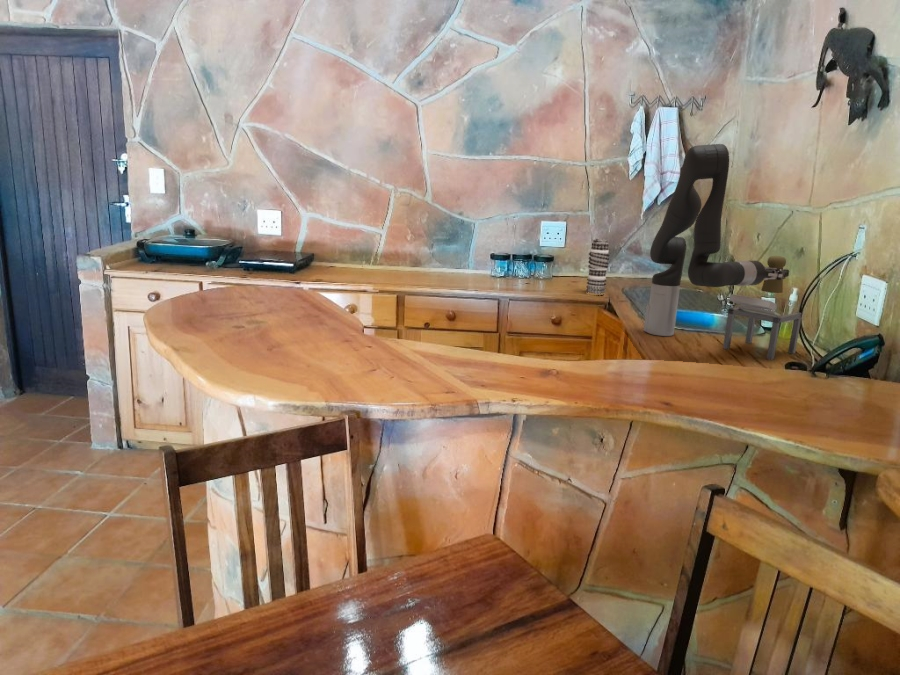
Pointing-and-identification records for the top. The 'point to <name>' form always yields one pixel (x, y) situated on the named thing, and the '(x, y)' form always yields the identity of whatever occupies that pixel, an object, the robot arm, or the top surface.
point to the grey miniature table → (774, 330)
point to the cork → (774, 284)
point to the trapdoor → (755, 305)
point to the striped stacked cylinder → (598, 266)
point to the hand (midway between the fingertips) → (781, 272)
